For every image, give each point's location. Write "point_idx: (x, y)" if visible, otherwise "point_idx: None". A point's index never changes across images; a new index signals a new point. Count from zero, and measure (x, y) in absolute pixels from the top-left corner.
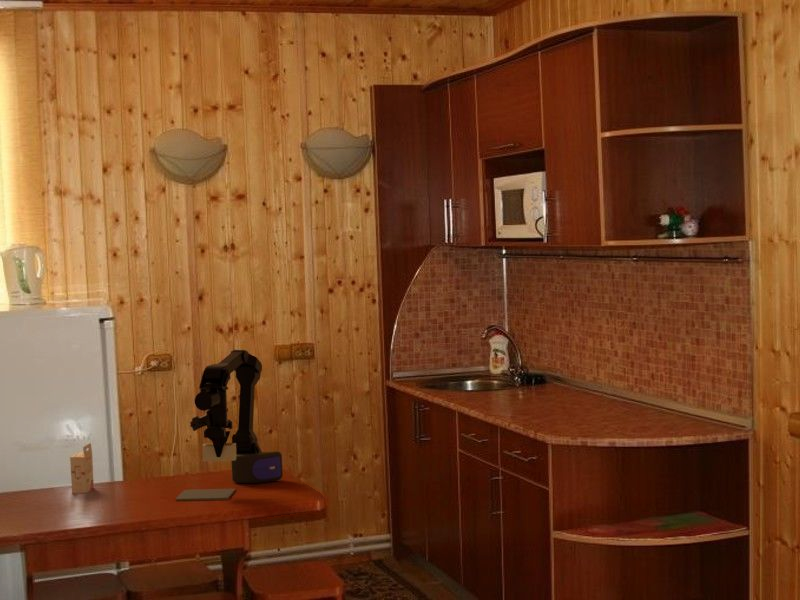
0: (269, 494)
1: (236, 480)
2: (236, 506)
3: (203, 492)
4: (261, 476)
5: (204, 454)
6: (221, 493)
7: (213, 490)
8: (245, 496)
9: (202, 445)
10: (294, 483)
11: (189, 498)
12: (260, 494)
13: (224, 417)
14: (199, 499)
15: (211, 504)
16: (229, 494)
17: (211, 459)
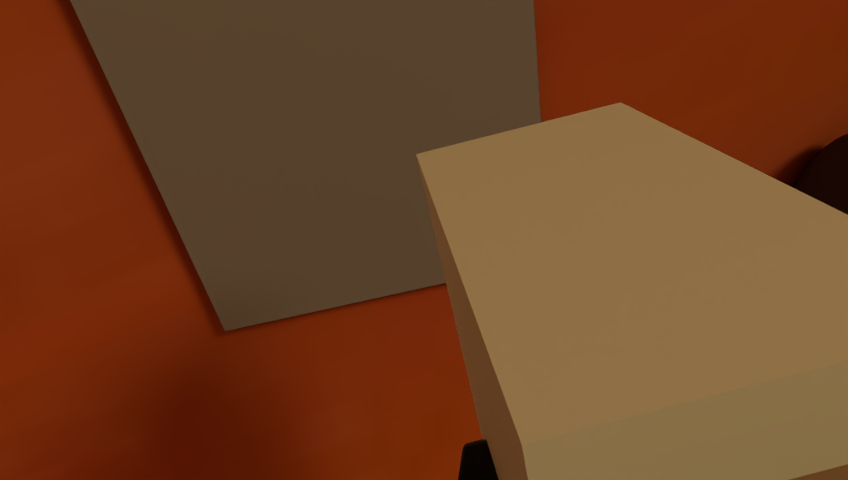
0: (434, 471)
1: (813, 177)
2: (54, 443)
3: (387, 43)
4: None
5: (450, 268)
6: (368, 226)
7: (483, 108)
8: (361, 381)
9: (527, 449)
10: None
11: (77, 5)
12: (430, 433)
13: None
14: (129, 111)
15: (30, 273)
16: (339, 299)
17: (458, 324)
